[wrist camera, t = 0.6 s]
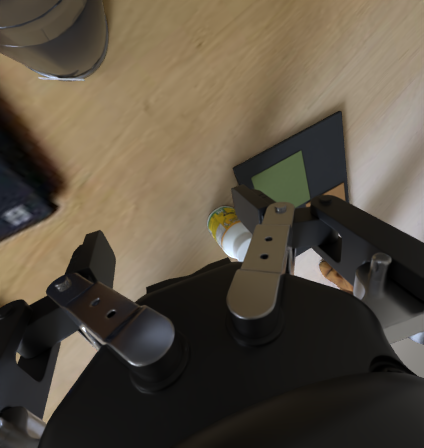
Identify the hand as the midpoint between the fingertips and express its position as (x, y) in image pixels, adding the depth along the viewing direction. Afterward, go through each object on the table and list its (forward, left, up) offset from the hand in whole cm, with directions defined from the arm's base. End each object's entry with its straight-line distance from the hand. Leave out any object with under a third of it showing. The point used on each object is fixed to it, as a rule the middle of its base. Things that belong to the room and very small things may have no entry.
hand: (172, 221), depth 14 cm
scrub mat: (+17, +20, -18) cm, 32 cm away
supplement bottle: (+13, +6, -18) cm, 23 cm away
